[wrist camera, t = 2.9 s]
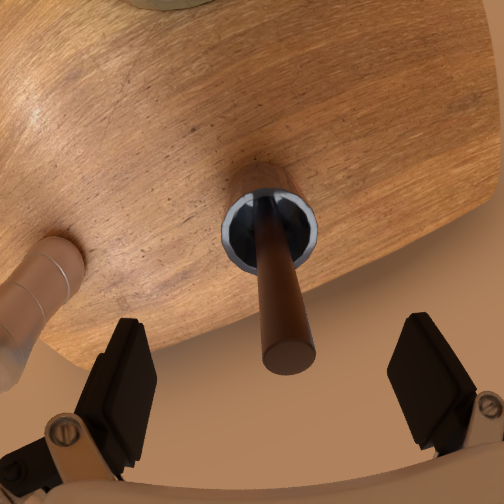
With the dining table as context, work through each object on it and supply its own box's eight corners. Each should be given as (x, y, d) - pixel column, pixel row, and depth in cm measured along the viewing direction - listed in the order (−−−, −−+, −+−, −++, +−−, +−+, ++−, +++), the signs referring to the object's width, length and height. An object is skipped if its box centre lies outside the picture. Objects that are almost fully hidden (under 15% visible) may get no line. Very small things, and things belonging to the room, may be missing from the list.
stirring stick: (276, 192, 24) (320, 338, 10) (275, 214, 25) (312, 375, 10) (253, 192, 24) (263, 340, 10) (252, 214, 25) (261, 377, 10)
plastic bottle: (31, 249, 28) (-84, 378, 10) (64, 216, 26) (-77, 356, 8) (67, 294, 30) (-23, 439, 13) (104, 266, 29) (2, 435, 11)
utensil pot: (300, 162, 25) (322, 189, 18) (295, 228, 27) (312, 276, 20) (227, 161, 25) (220, 187, 18) (228, 227, 27) (222, 276, 20)
